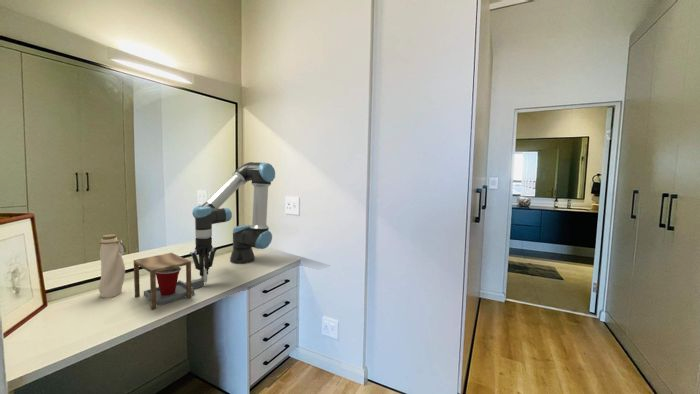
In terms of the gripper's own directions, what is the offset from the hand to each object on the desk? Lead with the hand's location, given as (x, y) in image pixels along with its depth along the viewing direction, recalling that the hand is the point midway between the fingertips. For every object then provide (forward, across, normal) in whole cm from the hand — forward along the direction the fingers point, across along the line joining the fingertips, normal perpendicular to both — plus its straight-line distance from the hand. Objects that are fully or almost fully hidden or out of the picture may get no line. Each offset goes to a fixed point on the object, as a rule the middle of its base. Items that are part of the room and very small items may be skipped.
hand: (204, 281), depth 149 cm
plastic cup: (+1, +17, -1) cm, 17 cm away
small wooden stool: (+2, +19, 0) cm, 19 cm away
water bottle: (+2, +32, -21) cm, 38 cm away
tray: (+2, +12, 0) cm, 13 cm away
